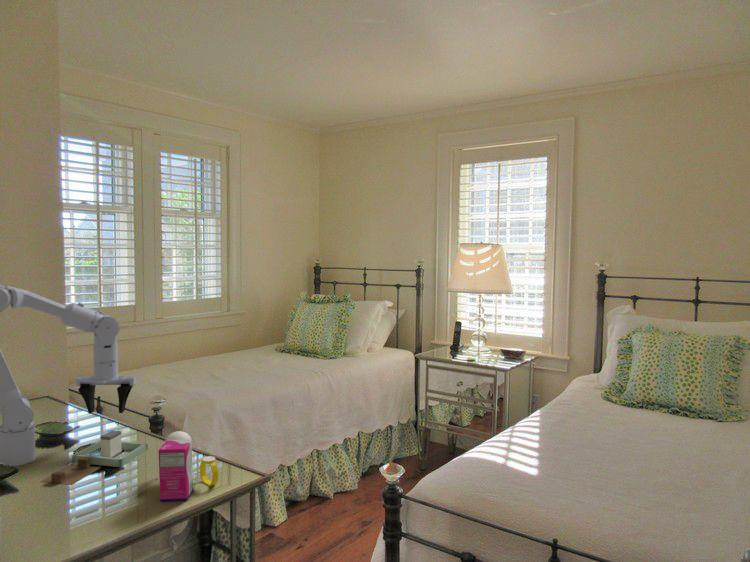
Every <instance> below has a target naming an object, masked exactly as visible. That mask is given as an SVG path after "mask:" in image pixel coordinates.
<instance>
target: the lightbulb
mask: <svg viewBox="0 0 750 562" xmlns="http://www.w3.org/2000/svg"><path fill="white" fill-rule="evenodd" d="M187 439H191V440H192V437H191V436H190V434H188V433H187V432H185V431H182V430H181V431H180V430H179V431H178V430H177V431H173V432H171V433H170V434H169V435H168V436H167V437H166V438H165V441H166V440H187ZM165 441H164V442H165ZM192 441H193V440H192Z"/></svg>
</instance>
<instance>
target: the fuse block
mask: <svg viewBox="0 0 750 562" xmlns="http://www.w3.org/2000/svg"><path fill="white" fill-rule="evenodd" d="M100 468H102V466H98V465H97V466H95V465H94V466H93V465H91V464H90V458H83V457H81V458H79V459H78V463H77V464H76V463H74V464H73V463H72V464H71V463H70V464H69V465H67V466H65V467H63V468H61V469H60V470H58V471H54V472H52V473H51V474H50V476H47V477H46V478H44V479H42V480H40V481H39V483H45V484H56V485H69V486H73V485H75V484H76V483H78V482H79V481H82V480H83V479H84V478H87V477H88V476H89V475H91V474H92V473H94V472H96V471H98V470H100Z"/></svg>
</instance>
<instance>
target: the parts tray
mask: <svg viewBox="0 0 750 562" xmlns="http://www.w3.org/2000/svg"><path fill="white" fill-rule="evenodd" d="M100 447H101V439H100V440H99V441H97V442H95V443H93V444H91V445H89V446H87V447H86V448H83V449H81V450H80V451H78V452H76V453H74V454H72V455H71V457H72V459H71V460H72V464H73V463H74V464H78V459H79V458H81V457H83V458H90V465H92V466H93V465H94V466H95V465H97V466H105V467H106V466H107V467H117V468H122V467H123V466H125V465H127V464H128V463H130V462H131V461H133V460H135V459H136V458H137V457H139V456H141V455H142V454H144V453H145V452H147V451H148V448H149V447H148V443H146V442H145V443H144V442H133V441H123V440H121V450H127V451H129V452H128V453H127V454H125V455H123V456H121V457H120V458H119V457H114V458H110V457H101V456H98V455H86V454H88V453H90V452H92V451H94V450H96V449H98V448H100Z"/></svg>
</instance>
